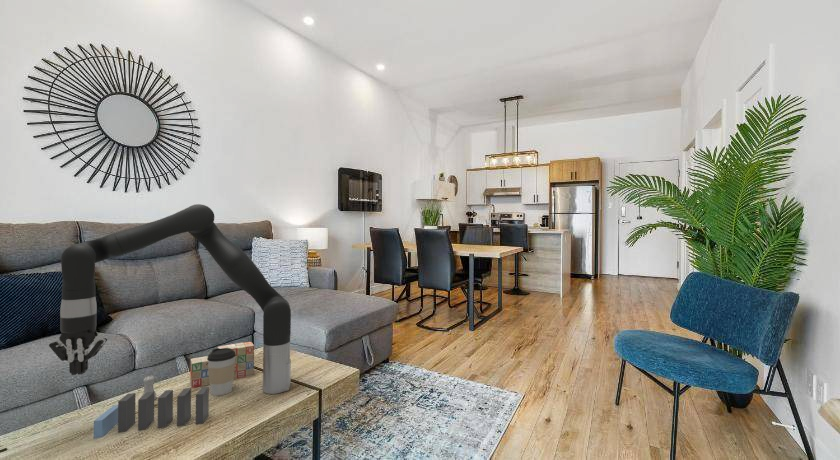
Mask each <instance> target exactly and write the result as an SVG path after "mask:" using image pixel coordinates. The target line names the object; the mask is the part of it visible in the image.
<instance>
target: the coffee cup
mask: <svg viewBox="0 0 840 460" xmlns="http://www.w3.org/2000/svg"><path fill="white" fill-rule="evenodd" d="M207 356H208V358H207V360H208V373H209V383H210V384H209V392H210V393H209V394H210V395H211V396H213V397H217V396H224V395H226V394H229V393H230V392H232V390H233V382H234V379H233V378H234V368H235V356H236V354H235V351H233V350H232V349H231V348H221V349H219V348H218V347H217V348H214V349H212V350H211V352H210V354H208V355H207Z"/></svg>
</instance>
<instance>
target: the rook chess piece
mask: <svg viewBox="0 0 840 460" xmlns="http://www.w3.org/2000/svg"><path fill="white" fill-rule="evenodd" d="M154 381H155V377H154V375H147V376H144V379H143V380H142V382H143V383H144V384H143V386H144V388H143V393H142V395H141V397H142V396H143V395H144V394H145V393H146V392H153V391H154V401H156V399H158V397H157V393H156V391H155V388H154V383H155V382H154ZM141 397H140V398H141Z"/></svg>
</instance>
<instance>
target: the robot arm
mask: <svg viewBox="0 0 840 460" xmlns="http://www.w3.org/2000/svg"><path fill="white" fill-rule="evenodd" d="M214 221H215V213H214V211H213V210H212V208H210V207H209V206H207V205H205V204H199V203H198V204H192V205H190V206H187V207H186V208H184V209H181V210H180V211H177V212H176V213H173V214H171V215H168V216H166V217H163V218H160V219H157V220H154V221H150V222H147V223H144V224H141V225H138V226H137V225H136V226H132V227H130V228H125V229H123V230H120V231H115V232H113V233H110V234H107V235H105V236H102V237H99V238H95V239H91V240H87V241H83V242H79V243H75V244H73V245H70V246H68V247H66V248H65V249H64V250H63V251H62V253H61V255H60V262H61V263H60V266H61V276H62V285H61V303H60V309H59V310H60V312H59V314H60V315H59V316H60V322H59V323H60V326H59V329H60V330H59V331H60V332H61V333H60V336H59V337H58V339H57V340H55V341H53V342H51V343H49V345H48V346H49V348H50V349H51V350H52V351H53V352H54V354H55V355H56V356H57V357H58V358H59V360H61V361H62V362H63V361H67V363H69V368H68V369H69V371H68V372H69V373H70V374H71V376H76V375H78V376H79V375H83V374H84V373H86V372H87V371H88V369H89V360H90V359H92V358H93V357H95V356H97V355H98V353H99V352H100V351H101V349H102V348H103V347H104V345H105V344H106V342H107V341H108V339H107V338H106V337H103V338H102V337H100V336H99V335H98V332H97V324H98V323H97V318H98V317H97V316H98V315H97V314H98V313H97V311H98V310H97V307H98V305H97V299H96V295H97V294H96V289H97V287H96V280H95V270H96V263H99V262H102V261H104V260H107V259H110V258H117V257H121V256H124V255H127V254H130V253H133V252H136V251H140V250H141V249H145V248H146V247H149V246H151V245H154V244H156V243H158V242H160V241H162V240H165V239H167V238H170V237H173V236H176V235H180V234H183V233H189V234H190V235H191V236H192V237H193V238H194V239H195V240H196V241H197V242H199V244H201V245H202V246H203V247H204V249H205V250H207V252H208V253H209V255H211V257H212V259H213V260H214V261H215V262H216V264H217V265H218V266H219V267H220V268H221V270H222V271H223V272H224V274H225V275H226V276H227V277H228V278H229V279H230V280H231V281H232V282H233V283H234V284H235V285H236V286H238V288H240V289H242V291H244V292H246V293H247V294H248V295H250V296H251V297H252V299H254V301H255V302H256V303H257V305H258V306H259V307H260V309H261V310H262V312H263V313H262V314H263V316H262V317H263V321H262V327H263V328H262V329H263V330H262V331H263V333H262V335H263V337H262V339H263V342H262V343H263V344H262V345H263V347H262V348H263V349H262V352H263V355H262V357H263V358H262V391H263V393H265V394H267V395H269V394H271V395H273V394H274V395H275V394H280V393H283V392H287V391H289V390H290V387H291V383H292V382H291V377H292V376H291V374H292V371H291V370H292V369H291V368H292V365H291V362H292V361H291V331H292V330H291V329H292V326H291V325H292V323H291V322H292V321H291V320H292V310H291V309H292V308H291V305H290V303H289V302H288V300H287V299H286V298H285V297H283V296H282V294H280V293H279V292H277V290H276V289H275V288H273V287H272V286H271V284H270V283H269V282H268V280H267V279H266V278H265V276H264V274H263V273H262V272H261V270H260V269H259V267H257V265H256V264H255V262H254V261H253V260H252V259H251V258H250V257H249V256H248V255H247V253H246V252H245V251H244V250H243V249H241V247H239V246H238V245H236V244H235V243H234V242H232V241H231V240H230V239H228V238H227V237H226V236H225V235H224V233H222V232H221V230H220V229H219V227H218V226H217V225H216V224H215V222H214ZM92 344H93V347H92V348H91V345H92Z"/></svg>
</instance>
